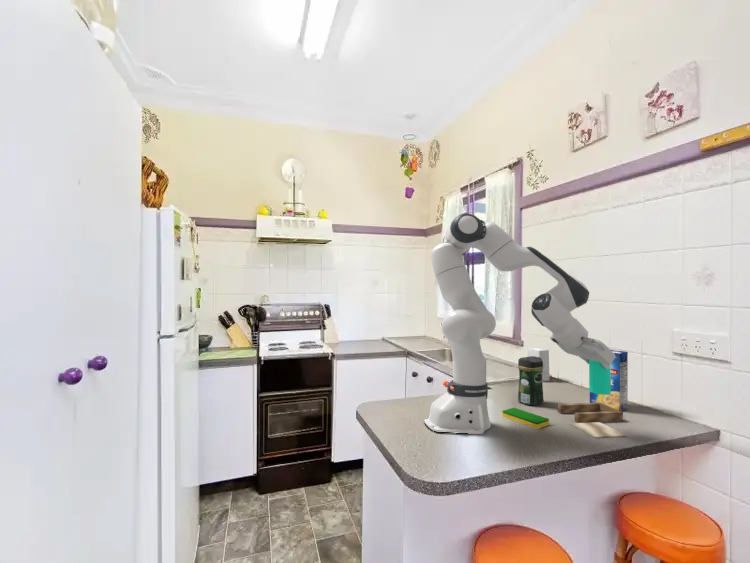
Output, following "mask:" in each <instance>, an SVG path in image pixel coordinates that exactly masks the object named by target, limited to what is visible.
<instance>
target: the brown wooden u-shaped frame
mask: <svg viewBox="0 0 750 563" xmlns="http://www.w3.org/2000/svg"><path fill="white" fill-rule="evenodd" d="M557 413H559V414H560V415H562V414H574V423H591V422H601V423H605V422H608V423H609V422H624V412H623V411H619V410H616V409H614V408H611V407H609V406H607V405H604V404H602V403H590V402H586V403H585V402H581V403H557Z"/></svg>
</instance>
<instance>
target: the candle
mask: <svg viewBox="0 0 750 563" xmlns="http://www.w3.org/2000/svg"><path fill="white" fill-rule="evenodd" d="M588 367H589V368H588V372H589V374H588V375H589V376H588V379H589V380H588V381H589V382H588V384H589V388H588V389H589V390H588V391H589V393H590V392H592V393H596V394H602V395H610V394H611V373H610V368H609V369H604V368H603V367H602V366H601V363H600V362H597V361H594V360H590V359H589V364H588Z"/></svg>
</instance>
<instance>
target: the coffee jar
mask: <svg viewBox="0 0 750 563" xmlns="http://www.w3.org/2000/svg"><path fill="white" fill-rule="evenodd" d="M517 365H518V371H519V378H518V395H517V400H518V402H520V403H521V404H522V405H528V406H537V405H542V404H543V403H544V389H543V382H542V371H543V361H542V359H541V358H540V357H535V356H530V357H528V356H525V357H519V359H518V364H517Z"/></svg>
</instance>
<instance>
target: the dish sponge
mask: <svg viewBox="0 0 750 563" xmlns="http://www.w3.org/2000/svg"><path fill="white" fill-rule="evenodd" d="M501 412H502V414H501V416H502V417H503V418H505V417H506V418H505V419H508V420H512V421H514V422H517V423H520V424H523V425H525V426H529V427H531V428H534V429H536V430H537V429H541V428H543V427H547V426H549V425H550V419H549V418H547V417H543V416H542V415H538V414H535V413H532V412H530V411H529V412H528V411H525V410H523V409H520V408H517V407H511V408H507V409H503V410H502V411H501Z"/></svg>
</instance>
